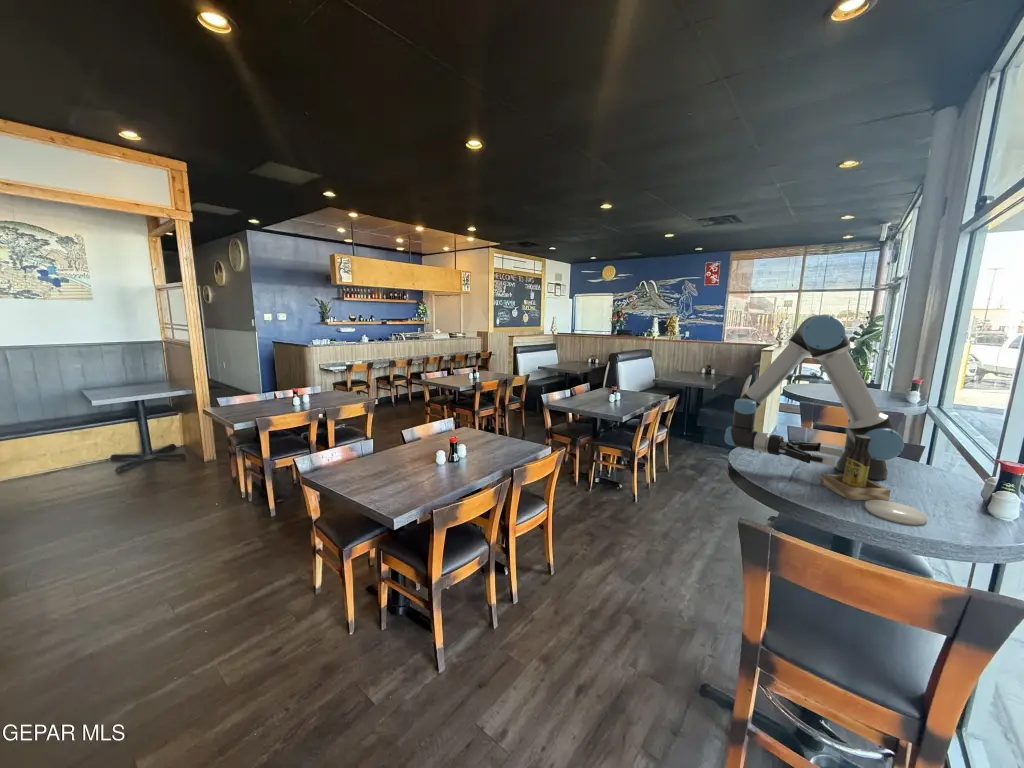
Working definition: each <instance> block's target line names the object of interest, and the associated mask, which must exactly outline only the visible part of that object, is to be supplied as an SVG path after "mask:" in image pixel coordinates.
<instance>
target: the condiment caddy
mask: <svg viewBox="0 0 1024 768" xmlns="http://www.w3.org/2000/svg"><path fill="white" fill-rule="evenodd" d="M842 480H843V474H833V473H832V474H831V473H830V474H825V473H823V474H821V476H820V481H819V482H820V485H822V486H824V487H826V488H827V489H830V490H831V491H833V492H834V493H835V494H836V493H837V494H838V495H839V496H842V497H843V498H845V499H847V500H851V501H852V500H856V501H858V500H860V501H861V500H862V501H863V500H865V501H868V500H884V501H890V496H891V489H889V488H886V487H885V486H883V485H880V484H879V483H876V482H874V481H873V480H871V479H867V482H866V487H865V488H851V487H849V486H847V485H845V484H843V483H842Z"/></svg>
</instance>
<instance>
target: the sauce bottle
mask: <svg viewBox="0 0 1024 768" xmlns="http://www.w3.org/2000/svg"><path fill="white" fill-rule="evenodd" d="M870 441H871V437H869V436H865V435H856V436H855V443H854V447H853V448H852V450H851V452H850V453H849V455H848V456H847V459H846V464H845V469H844V473H842V475H843V480H842V483H843V484H845V485H847V486H849V487H851V488H865V487H866V482H867V477H868V472H869V467H870V461H871V456H870V454H869V452H868V447H869V442H870Z"/></svg>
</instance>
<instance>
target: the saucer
mask: <svg viewBox="0 0 1024 768" xmlns="http://www.w3.org/2000/svg"><path fill="white" fill-rule="evenodd" d="M864 508H865V510H866V511H868V512H869V513H870V514H872V515H874V516H876V517H878V518H881V519H884V520H887V521H889V522H890V521H891V522H894V523H898V524H902V525H903V524H904V525H910V526H923V525H926V524H927V522H928V516H927V514H925V513H924V512H922V511H921V510H919V509H917V508H914V507H912V506H909V505H906V504H902V503H898V502H894V501H890V500H865V503H864Z"/></svg>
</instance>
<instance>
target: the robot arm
mask: <svg viewBox="0 0 1024 768" xmlns="http://www.w3.org/2000/svg"><path fill="white" fill-rule="evenodd" d="M851 345H852V344H851V343H850V340H849V339H848V336H847V334H846V327H845V325H844V323H843V322H842V321H841V319H839V318H838V317H835V316H832V315H829V314H817V315H812V316H810V317H808V318H806V319H805V320H804V321H802V323H800V325H799V326H798V328H797V329H796V331H795V332H794V334H792V336H791V337H790V338H789V339H788V344H787V345H786V347H784V349H783V350H782V351H781V352H780V354H778V356H777V357H776V358H775V359H774V360H773V361H772V362H771V363H770V365H768V366H767V367H766V369H765V370H764V371H763V372H762V373H761V375H760V376H759V377H758V378H756V380H755V381H754V382H753V383H752V384H751V386H749V388H748V389H747V390H746V391H745V392H744V393H743V394H742V396H741V397H740V398H737V399H735V401H734V404H733V419H732V425H731V426H727V428H726V430H725V433H724V443H726V444H727V445H729V446H733V447H736V448H742V449H746V450H752V451H755V452H756V451H757V452H758V453H760V454H762V453H765V454H766V453H768V454H769V455H775V456H780V455H784V456H787V457H788V458H789V457H790V458H792V459H795V460H798V461H801V462H802V463H803V462H804V463H806V464H811V462H813V463H817V464H821V465H826V466H830V467H835V469H836V470H838V471H839V472H840V473H842V474H844V469H845V464H846V459H847V456H848V455H849V453H850V452H851V450H852V448H853V447H854V443H855V436H856V435H865V436H869V437H871V441H870V442H869V447H868V452H869V454H870V456H871V461H870V467H869V472H868V477H867V479H868V480H871V481H874V480H876V481H879V480H880V481H881V480H886V479H887V478H888V475H889V471H888V468H887V463H886V461H889V460H893V459H895V458H896V457H898V456H899V455H901V453H902V452H903V450H904V448H905V440H904V438H903V436H902V435H901V434H900V433H899V432H898V431H896V428H895V427H894V425H893V423H892V421H891V418H890V417H889V415H888V414H885V413H882V412H880V410H879V408H878V406H877V404H876V402H875V401H874V398H873V397H872V394H871V392H870V391H869V388H868V386H867V385H866V383H865V381H864V379H863V377H862V375H861V373H860V371H859V369H858V368H857V365H856V363H855V361H854V360H853V357H852V356H851V354H850V352H849V349H850V347H851ZM807 356H811V358H812V359H815V360H818V361H819V362H820V364H821V366H822V368H823V370H824V372H825V373H826V376H827V378H828V380H829V382H830V384H831V385H832V387H833V389H834V391H835V394H836V395H837V397H838V398H839V401H840V403H841V405H842V407H843V409H844V411H845V413H846V415H847V417H848V419H847V430H846V434H845V435H846V436H845V442H844V444H845V445H844V449H842V448H839V447H832V446H827V445H823V444H822V443H821V442H811V441H810V442H809V441H799V440H792V439H789V440H788V441H785V440H784V436H782V435H778V434H771V433H767V432H763V431H756V430H754V429H755V423H756V412H757V409H759V408H760V406H761V405H762V404H763V403H764V402H765V400H767V399H768V398H769V397H770V396H771V394H772V393H773V392H774V391H775V390H776V389H777V388H778V387H779V386H780V385H781V384H782V383H783V381H784V380H786V378H788V376H789V375H790V374H791V373H792V372H793V371H794V370H795V369H796V368H797V367H798V366H799V364H801V362H803V360H805V359H806V357H807ZM809 452H818V453H820V454H817V453H809ZM822 454H823V455H822ZM824 454H825V455H824ZM826 455H829V456H826ZM832 456H835V457H832ZM836 457H839V459H838V460H837V462H836V459H837V458H836Z"/></svg>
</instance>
